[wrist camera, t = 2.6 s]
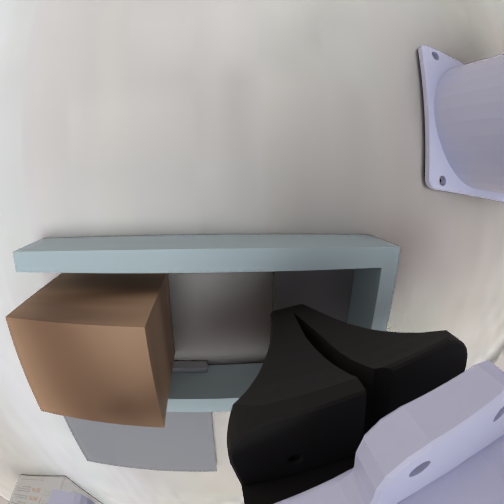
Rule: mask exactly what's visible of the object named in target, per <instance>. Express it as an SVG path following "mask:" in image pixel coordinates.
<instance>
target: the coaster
mask: <svg viewBox="0 0 504 504" xmlns="http://www.w3.org/2000/svg"><path fill="white" fill-rule="evenodd" d="M204 372H208V370H207V361H174V362H173V368H172V373H204ZM64 418H65V420H66V422H67V424H68V426H69V428H70V430H71V432H72V434H73V436H74V438H75V440H76V442H77V443H78V445H79V447H80V449H81V451H82V452H83V454H84V456H85V457H86V459H87V461H91V462H96V463H102V464H108V465H114V466H121V467H129V468H138V469H149V470H162V471H188V472H208V471H217V466H216V457H215V447H214V438H213V428H212V417H211V412H166V419H165V427H164V428H159V427H143V426H131V425H121V424H112V423H104V422H97V421H91V420H84V419H78V418H73V417H68V416H64Z"/></svg>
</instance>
